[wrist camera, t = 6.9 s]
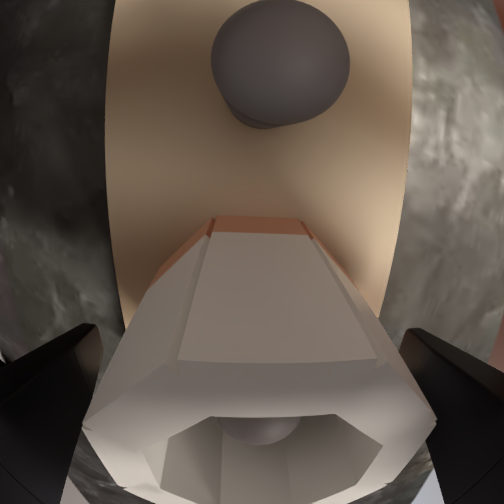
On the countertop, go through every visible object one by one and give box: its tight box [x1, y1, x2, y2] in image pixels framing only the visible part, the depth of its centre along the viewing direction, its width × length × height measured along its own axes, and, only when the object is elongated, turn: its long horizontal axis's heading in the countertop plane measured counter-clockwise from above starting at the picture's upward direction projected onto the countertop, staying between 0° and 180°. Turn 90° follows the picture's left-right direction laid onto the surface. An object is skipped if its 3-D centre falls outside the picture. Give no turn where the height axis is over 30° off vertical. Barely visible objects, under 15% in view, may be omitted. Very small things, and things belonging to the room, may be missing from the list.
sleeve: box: [82, 215, 437, 504], centre depth 7 cm, size 6×6×6 cm
